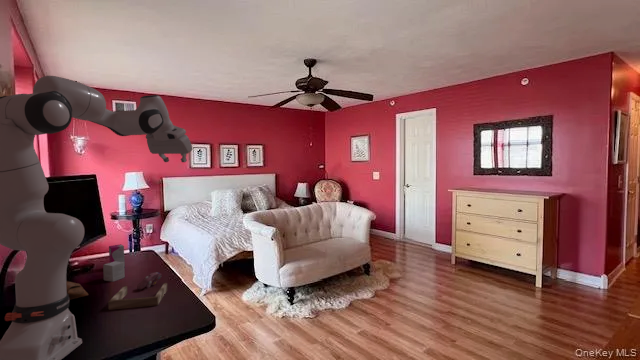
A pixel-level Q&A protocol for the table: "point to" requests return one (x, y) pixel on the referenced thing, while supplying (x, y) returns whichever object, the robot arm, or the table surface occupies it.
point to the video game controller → (149, 280)
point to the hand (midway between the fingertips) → (175, 161)
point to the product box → (113, 271)
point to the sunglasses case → (75, 290)
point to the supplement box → (116, 253)
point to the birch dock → (135, 299)
